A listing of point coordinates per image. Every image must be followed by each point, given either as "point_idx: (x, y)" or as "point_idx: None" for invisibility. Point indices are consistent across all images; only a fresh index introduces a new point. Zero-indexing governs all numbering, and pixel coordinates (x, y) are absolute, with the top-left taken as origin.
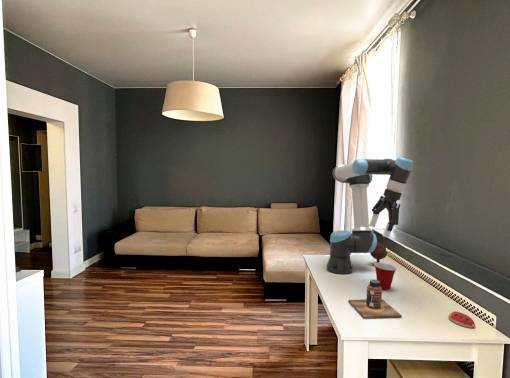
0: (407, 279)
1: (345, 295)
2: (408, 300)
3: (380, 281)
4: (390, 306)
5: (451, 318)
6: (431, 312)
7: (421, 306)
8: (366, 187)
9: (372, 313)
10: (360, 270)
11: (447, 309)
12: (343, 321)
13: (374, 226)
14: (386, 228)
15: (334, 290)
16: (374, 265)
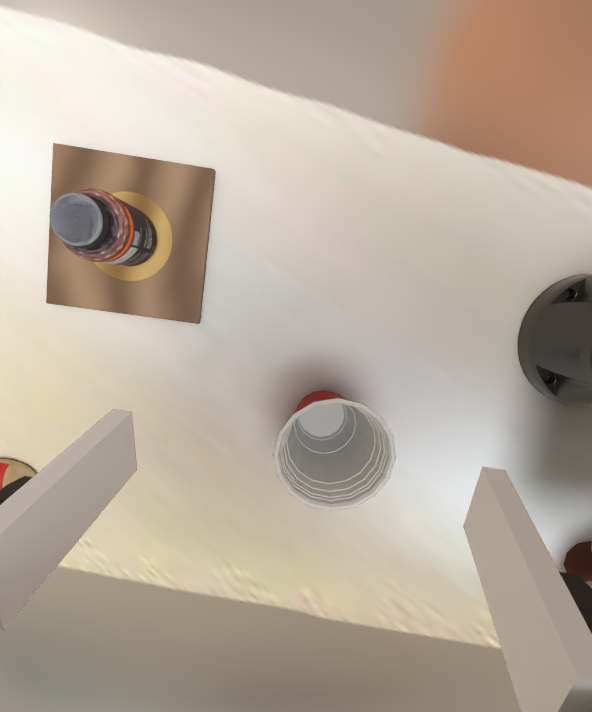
0: (389, 573)
1: (281, 197)
2: (190, 431)
3: (312, 396)
4: (125, 311)
5: (1, 462)
6: None
7: None
8: None
9: None
10: (546, 440)
11: None
12: (47, 48)
13: (468, 531)
14: (33, 477)
15: (343, 175)
16: (587, 543)
